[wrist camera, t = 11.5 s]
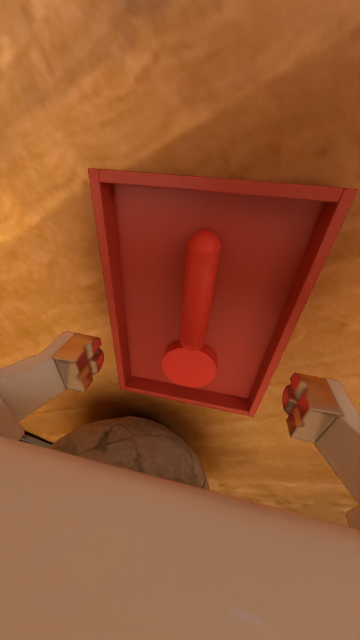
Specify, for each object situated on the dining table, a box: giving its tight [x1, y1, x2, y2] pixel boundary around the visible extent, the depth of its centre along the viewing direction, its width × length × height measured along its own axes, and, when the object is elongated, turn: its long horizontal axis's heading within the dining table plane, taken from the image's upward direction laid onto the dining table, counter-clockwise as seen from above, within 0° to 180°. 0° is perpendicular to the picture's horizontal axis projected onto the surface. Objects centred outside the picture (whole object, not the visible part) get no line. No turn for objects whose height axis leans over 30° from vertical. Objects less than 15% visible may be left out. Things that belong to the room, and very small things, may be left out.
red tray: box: [88, 168, 358, 417], centre depth 16 cm, size 13×18×2 cm
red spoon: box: [162, 230, 221, 387], centre depth 16 cm, size 14×5×2 cm, turn 176°
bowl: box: [49, 416, 209, 490], centre depth 23 cm, size 22×22×15 cm
